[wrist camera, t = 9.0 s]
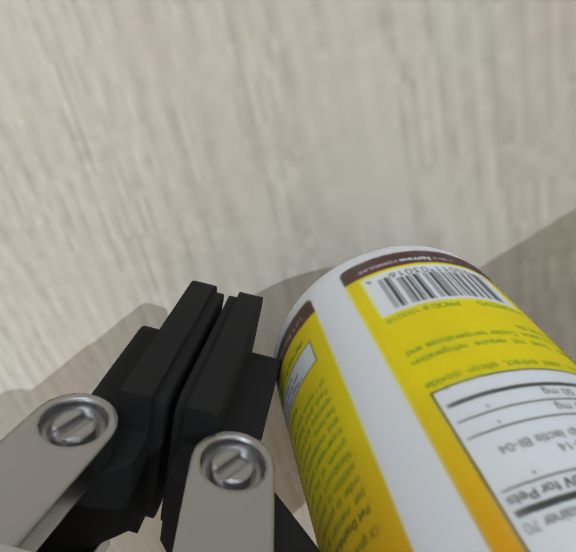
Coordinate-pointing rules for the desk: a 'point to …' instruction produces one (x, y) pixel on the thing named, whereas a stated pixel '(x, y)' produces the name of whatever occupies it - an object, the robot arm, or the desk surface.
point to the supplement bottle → (427, 410)
